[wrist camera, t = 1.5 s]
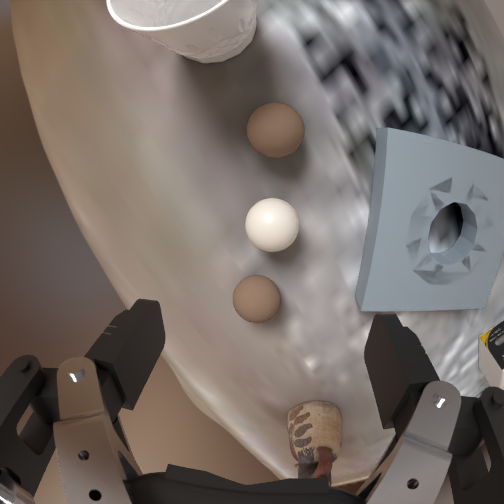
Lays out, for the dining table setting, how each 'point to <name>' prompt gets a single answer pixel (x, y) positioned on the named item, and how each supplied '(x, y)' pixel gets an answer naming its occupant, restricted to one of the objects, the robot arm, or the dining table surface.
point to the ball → (272, 225)
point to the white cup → (191, 25)
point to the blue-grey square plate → (419, 221)
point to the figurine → (315, 437)
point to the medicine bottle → (492, 355)
